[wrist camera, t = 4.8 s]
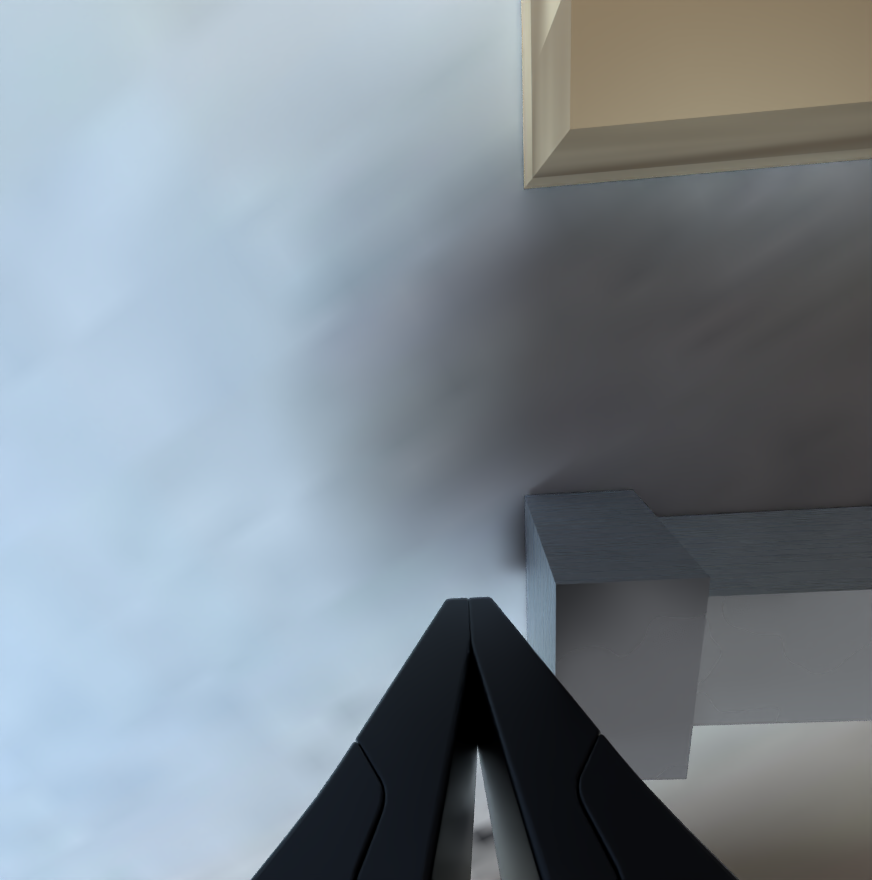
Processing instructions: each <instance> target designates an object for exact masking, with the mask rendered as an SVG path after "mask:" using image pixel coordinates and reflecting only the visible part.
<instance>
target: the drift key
mask: <svg viewBox="0 0 872 880" xmlns="http://www.w3.org/2000/svg"><path fill="white" fill-rule="evenodd" d="M525 545H526V600H527V642H528V643H529V645H530V646H531V647H532V648H533V649H534V651H535V652H536V653H537V654H538V655H539V657H540V658H541V659H542V660H543V662H544V663H545V664H546V665H547V666H548V668H549V669H550V670H551V671H552V673H553V674H554V675H555V676H556V677H557V679H558V680H559V681H560V682H561V684H562V685H563V686H564V687H565V688H566V690H567V691H568V692H569V693H570V695H571V696H572V697H573V698H574V699H575V701H576V702H577V703H578V704H579V706H580V707H581V708H582V709H583V710H584V712H585V713H586V714H587V715H588V717H589V718H590V719H591V720H592V721H593V723H594V724H595V725H596V726H597V727H598V729H599V730H600V732H601V735H604V736H605V737H606V738H607V739H608V741H609V742H610V743H611V744H612V746H613V747H614V748H615V749H616V750H617V752H618V753H619V754H620V755H621V757H622V758H623V759H624V760H625V761H626V762H627V764H628V765H629V766H630V767H631V768H632V769H633V770H634V772H635V773H636V774H637V775H638V776H639V777H640V779H641V780H663V779H686V778H687V769H688V761H689V753H690V745H691V736H692V728H693V726H700V725H733V724H767V723H800V722H834V721H867V720H872V506H863V507H844V508H824V509H805V510H786V511H766V512H747V513H728V514H708V515H689V516H670V517H657V516H656V515H655V514H654V513H653V512H652V511H651V510H650V509H649V507H648V506H647V505H646V504H645V503H644V502H643V501H642V500H641V498H640V497H639V496H638V495H637V494H636V493H635V492H634V491H633V490H616V491H598V492H580V493H561V494H543V495H525Z"/></svg>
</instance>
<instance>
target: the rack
mask: <svg viewBox="0 0 872 880" xmlns="http://www.w3.org/2000/svg"><path fill="white" fill-rule="evenodd" d="M521 21H522V87H523V153H524V189H531V188H542V187H554V186H565V185H577V184H588V183H599V182H611V181H622V180H634V179H645V178H657V177H668V176H680V175H691V174H703V173H714V172H726V171H737V170H749V169H760V168H771V167H783V166H794V165H806V164H817V163H829V162H840V161H852V160H863V159H872V0H521Z"/></svg>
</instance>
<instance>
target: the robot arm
mask: <svg viewBox="0 0 872 880" xmlns="http://www.w3.org/2000/svg"><path fill="white" fill-rule="evenodd" d="M477 745H478V752H479V758H480V763H481V769H482V775H483V780H484V786H485V792H486V797H487V803H488V809H489V814H490V820H491V826H492V831H493V837H494V843H495V848H496V854H497V860H498V865H499V871H500V877H501V880H739V879H738V878H737V877H736V876H735V875H734V874H733V873H732V872H731V871H730V870H729V869H728V868H727V867H726V866H725V865H724V864H723V863H722V862H721V861H720V860H719V859H718V858H717V857H716V856H715V855H714V854H713V853H712V852H711V851H710V850H709V849H708V848H707V847H706V846H705V845H704V844H703V843H702V842H701V841H700V840H699V839H698V838H697V837H696V836H695V835H694V834H693V833H692V832H691V831H690V830H689V829H688V828H687V827H686V826H685V825H684V824H683V823H682V822H681V821H680V820H679V819H678V818H677V817H676V816H675V815H674V814H673V813H672V812H671V811H670V810H669V809H668V808H667V807H666V806H665V805H664V804H663V802H662V801H661V800H660V799H659V798H658V797H657V796H656V795H655V794H654V793H653V792H652V791H651V790H650V789H649V788H648V787H647V785H646V784H645V783H644V782H643V781H642V780H641V779H640V777H639V776H638V775H637V774H636V773H635V772H634V770H633V769H632V768H631V767H630V766H629V765H628V764H627V762H626V761H625V760H624V759H623V758H622V757H621V755H620V754H619V753H618V752H617V750H616V749H615V748H614V747H613V746H612V744H611V743H610V742H609V741H608V739H607V738H606V737H605V736H604V735H601V732H600V730H599V729H598V727H597V726H596V725H595V724H594V723H593V721H592V720H591V719H590V718H589V717H588V715H587V714H586V713H585V712H584V710H583V709H582V708H581V707H580V706H579V704H578V703H577V702H576V701H575V699H574V698H573V697H572V696H571V695H570V693H569V692H568V691H567V690H566V688H565V687H564V686H563V685H562V684H561V682H560V681H559V680H558V679H557V677H556V676H555V675H554V674H553V673H552V671H551V670H550V669H549V668H548V666H547V665H546V664H545V663H544V662H543V660H542V659H541V658H540V657H539V655H538V654H537V653H536V652H535V651H534V649H533V648H532V647H531V646H530V645H529V643H528V642H527V641H526V640H525V638H524V637H523V636H522V635H521V634H520V632H519V631H518V630H517V629H516V627H515V626H514V625H513V624H512V623H511V621H510V620H509V619H508V618H507V616H506V615H505V614H504V613H503V612H502V610H501V609H500V608H499V607H498V605H497V604H496V603H495V602H494V601H493V599H492V598H490V597H475V598H470V599H467V598H453V599H447V600H446V601H445V602H444V604H443V605H442V607H441V608H440V610H439V611H438V613H437V614H436V616H435V617H434V619H433V621H432V622H431V624H430V625H429V627H428V628H427V630H426V631H425V633H424V634H423V636H422V638H421V639H420V641H419V642H418V644H417V645H416V647H415V648H414V650H413V651H412V653H411V654H410V656H409V658H408V659H407V661H406V662H405V664H404V665H403V667H402V668H401V670H400V671H399V673H398V674H397V676H396V678H395V679H394V681H393V682H392V684H391V685H390V687H389V688H388V690H387V691H386V693H385V695H384V696H383V698H382V699H381V701H380V702H379V704H378V705H377V707H376V708H375V710H374V711H373V713H372V715H371V716H370V718H369V719H368V721H367V722H366V724H365V725H364V727H363V728H362V730H361V732H360V733H359V735H358V736H357V738H356V742H354V743H352V745H351V746H350V748H349V750H348V751H347V753H346V754H345V756H344V757H343V759H342V760H341V762H340V764H339V765H338V767H337V768H336V769H335V771H334V772H333V774H332V775H331V777H330V778H329V780H328V781H327V782H326V784H325V785H324V787H323V788H322V790H321V791H320V793H319V794H318V795H317V797H316V798H315V799H314V801H313V802H312V803H311V805H310V806H309V807H308V808H307V810H306V811H305V812H304V814H303V815H302V816H301V818H300V819H299V820H298V821H297V823H296V824H295V825H294V827H293V828H292V829H291V830H290V832H289V833H288V834H287V836H286V837H285V838H284V839H283V841H282V842H281V843H280V844H279V846H278V847H277V848H276V849H275V850H274V852H273V853H272V854H271V855H270V857H269V858H268V859H267V860H266V862H265V863H264V864H263V865H262V867H261V868H260V869H259V870H258V871H257V873H256V874H255V875H254V876H253V878H252V879H251V880H470V879H471V860H472V842H473V823H474V804H475V786H476V767H477Z"/></svg>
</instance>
